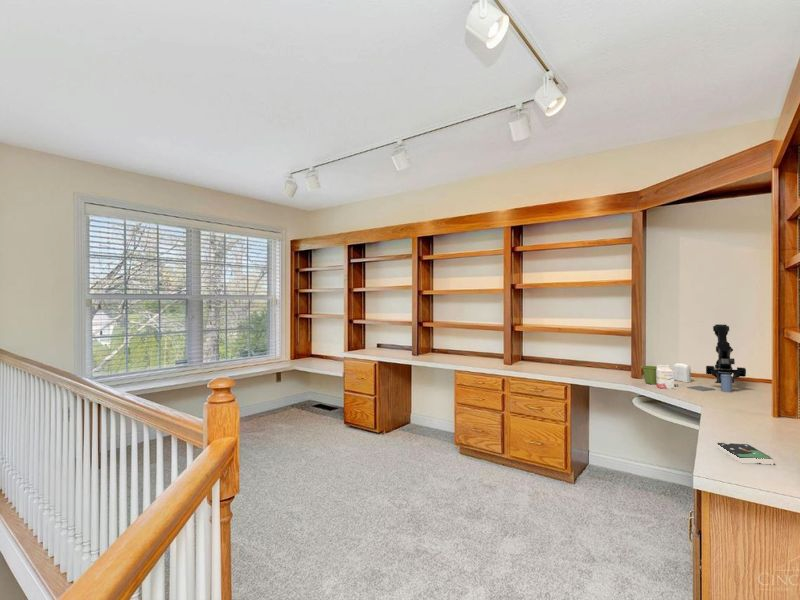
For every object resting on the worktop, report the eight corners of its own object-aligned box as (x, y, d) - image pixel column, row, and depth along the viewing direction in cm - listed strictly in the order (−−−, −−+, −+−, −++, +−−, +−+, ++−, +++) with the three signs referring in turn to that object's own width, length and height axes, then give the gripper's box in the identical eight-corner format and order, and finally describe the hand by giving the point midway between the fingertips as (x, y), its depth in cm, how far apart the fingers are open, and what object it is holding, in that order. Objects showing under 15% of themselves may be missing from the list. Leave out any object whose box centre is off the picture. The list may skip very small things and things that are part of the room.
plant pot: (666, 384, 266) (666, 367, 266) (651, 385, 264) (651, 368, 264) (651, 381, 278) (651, 365, 278) (637, 382, 275) (636, 366, 275)
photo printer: (692, 382, 270) (691, 364, 271) (687, 382, 269) (686, 364, 269) (677, 379, 280) (676, 362, 280) (672, 380, 279) (672, 362, 279)
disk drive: (716, 449, 153) (740, 464, 139) (716, 442, 153) (740, 456, 139) (747, 451, 151) (775, 466, 136) (747, 443, 151) (775, 458, 136)
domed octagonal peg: (719, 390, 240) (718, 374, 240) (725, 390, 241) (724, 373, 241) (727, 392, 235) (727, 375, 235) (734, 391, 236) (733, 375, 236)
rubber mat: (687, 389, 250) (686, 387, 250) (699, 388, 253) (699, 385, 253) (702, 392, 241) (702, 390, 241) (715, 391, 243) (715, 388, 243)
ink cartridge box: (659, 388, 255) (658, 365, 255) (656, 387, 259) (655, 364, 260) (674, 388, 253) (673, 365, 253) (671, 387, 258) (670, 364, 258)
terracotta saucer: (716, 392, 241) (715, 384, 241) (725, 391, 242) (724, 383, 242) (728, 394, 234) (728, 386, 234) (737, 393, 236) (736, 385, 236)
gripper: (705, 352, 247) (706, 373, 238) (745, 354, 236) (747, 375, 227) (705, 363, 253) (706, 384, 244) (744, 365, 242) (746, 387, 233)
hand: (726, 382), depth 237 cm, fingers open, 6 cm apart
